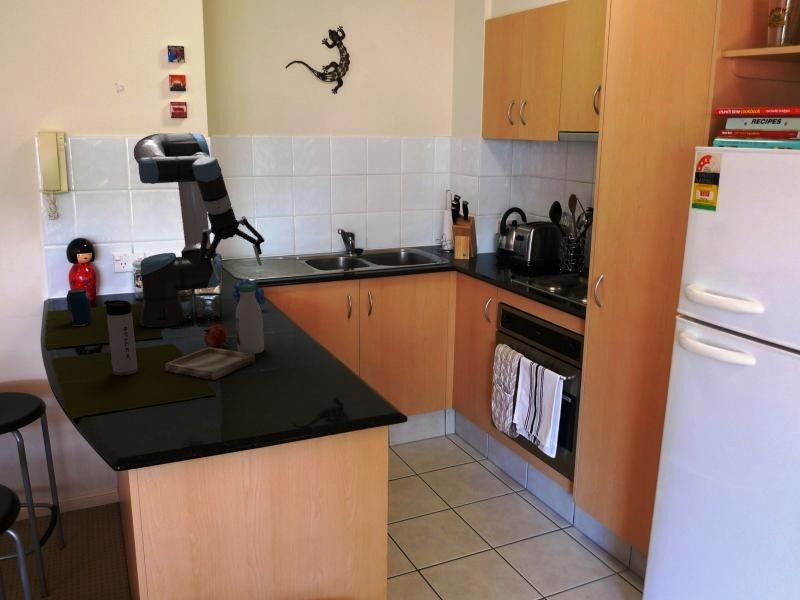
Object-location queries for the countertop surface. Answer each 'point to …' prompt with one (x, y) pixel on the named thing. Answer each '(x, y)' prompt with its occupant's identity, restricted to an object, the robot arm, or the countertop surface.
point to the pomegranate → (215, 336)
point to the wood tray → (210, 363)
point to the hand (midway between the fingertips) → (238, 270)
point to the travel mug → (121, 337)
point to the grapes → (258, 292)
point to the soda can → (78, 307)
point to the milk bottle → (249, 322)
